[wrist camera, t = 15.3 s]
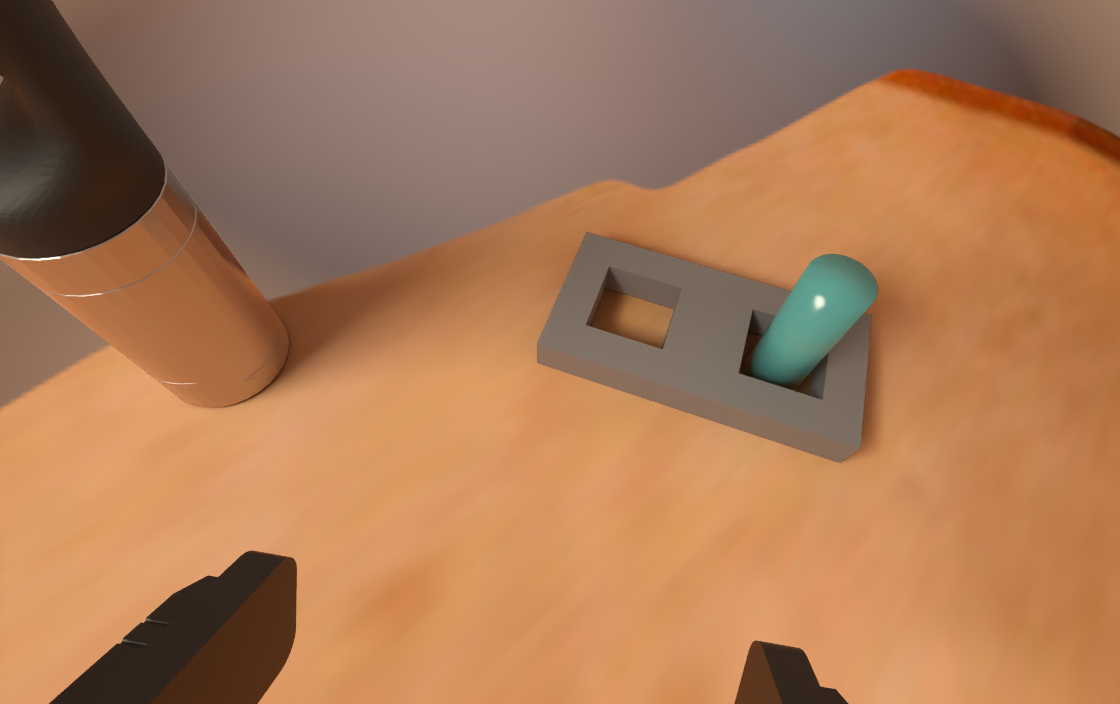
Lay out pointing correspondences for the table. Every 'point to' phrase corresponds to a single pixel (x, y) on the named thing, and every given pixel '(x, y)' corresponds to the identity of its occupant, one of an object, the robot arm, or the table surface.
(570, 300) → the rack
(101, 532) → the table surface
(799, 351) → the teal round-top peg
